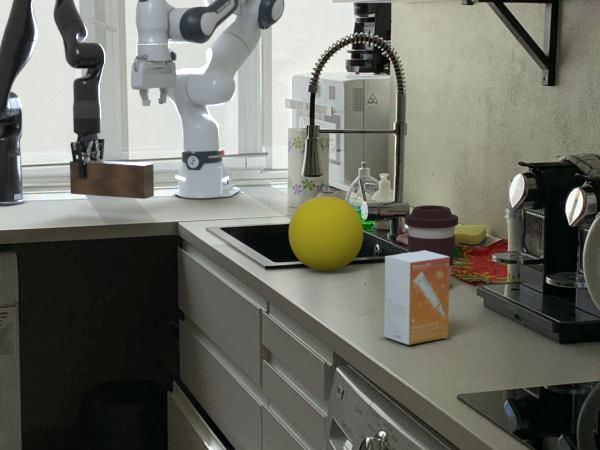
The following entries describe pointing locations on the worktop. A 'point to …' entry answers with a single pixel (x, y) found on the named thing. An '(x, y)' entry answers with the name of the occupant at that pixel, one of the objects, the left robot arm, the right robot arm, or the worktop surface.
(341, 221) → the toy
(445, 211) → the coffee cup
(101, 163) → the bar
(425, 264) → the small box
